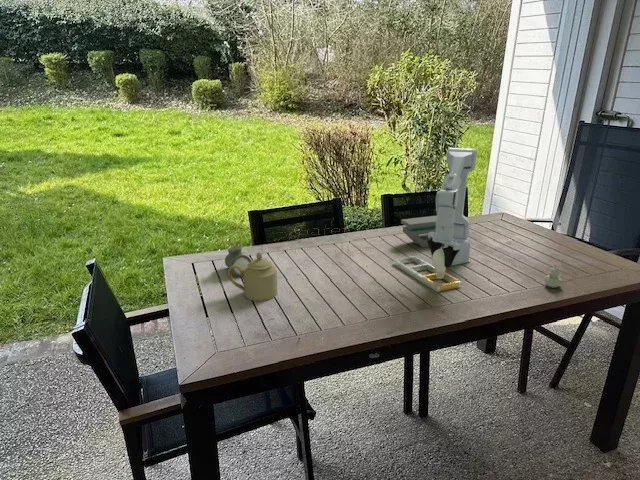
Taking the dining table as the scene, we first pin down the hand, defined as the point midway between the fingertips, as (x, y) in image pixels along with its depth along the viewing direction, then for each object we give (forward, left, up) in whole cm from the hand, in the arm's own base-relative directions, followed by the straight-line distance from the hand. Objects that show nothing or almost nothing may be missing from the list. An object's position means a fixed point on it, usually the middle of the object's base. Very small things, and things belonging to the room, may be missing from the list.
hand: (441, 263), depth 152 cm
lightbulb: (0, 0, -6) cm, 6 cm away
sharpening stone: (-23, -38, -8) cm, 45 cm away
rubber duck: (-34, +17, -8) cm, 39 cm away
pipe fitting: (+62, -41, -8) cm, 75 cm away
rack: (0, -9, -8) cm, 12 cm away
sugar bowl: (+61, -18, -8) cm, 64 cm away
